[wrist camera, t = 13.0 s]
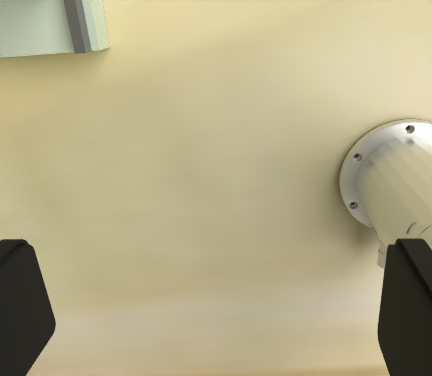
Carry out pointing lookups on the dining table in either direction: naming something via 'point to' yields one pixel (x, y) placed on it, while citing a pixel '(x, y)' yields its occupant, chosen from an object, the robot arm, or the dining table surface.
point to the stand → (51, 27)
